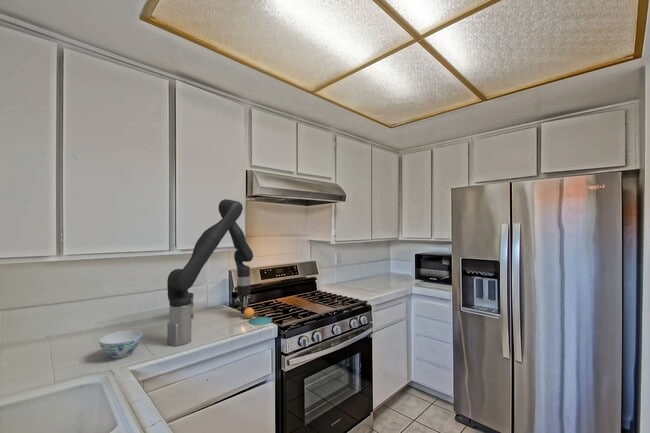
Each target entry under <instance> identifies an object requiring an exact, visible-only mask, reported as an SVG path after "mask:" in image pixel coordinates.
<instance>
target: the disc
mask: <svg viewBox="0 0 650 433" xmlns="http://www.w3.org/2000/svg"><path fill="white" fill-rule="evenodd" d="M272 322H273V319H272V317H267V316H257V317H252V318H249V320H248V323H249V324H250V325H254V326H259V325H260V326H261V325H267V324H268V325H269V324H270V323H272Z"/></svg>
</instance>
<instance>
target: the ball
mask: <svg viewBox="0 0 650 433" xmlns="http://www.w3.org/2000/svg"><path fill="white" fill-rule="evenodd" d="M254 315H255V310H254V309H253V307H246V309H245V310H244V314H243V316H244V318H245V319H252V318H254Z"/></svg>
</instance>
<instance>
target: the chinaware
mask: <svg viewBox="0 0 650 433" xmlns="http://www.w3.org/2000/svg"><path fill="white" fill-rule="evenodd" d="M142 337H143V332H142V331H141V330H137V329H136V330H135V329H131V330H130V329H128V330H122V331H116V332H112V333H109V334H105V335H104V336H102V337H101V338H99V340H98V342H99V346H100V348H101V350H102V351H103V352H104V353H105V354H106V355H109V356H111V358H112V359H122V358H127V357H128V356H130V355H131V354H132V352H133V351H135V349H137V347H138V345H139V344H140V342H141V341H142Z"/></svg>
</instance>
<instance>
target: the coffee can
mask: <svg viewBox="0 0 650 433" xmlns="http://www.w3.org/2000/svg"><path fill="white" fill-rule="evenodd" d="M188 293H189V295H190V297H191V319H192V320H193V319H194V296H195V294H194V293H193V292H188Z"/></svg>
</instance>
